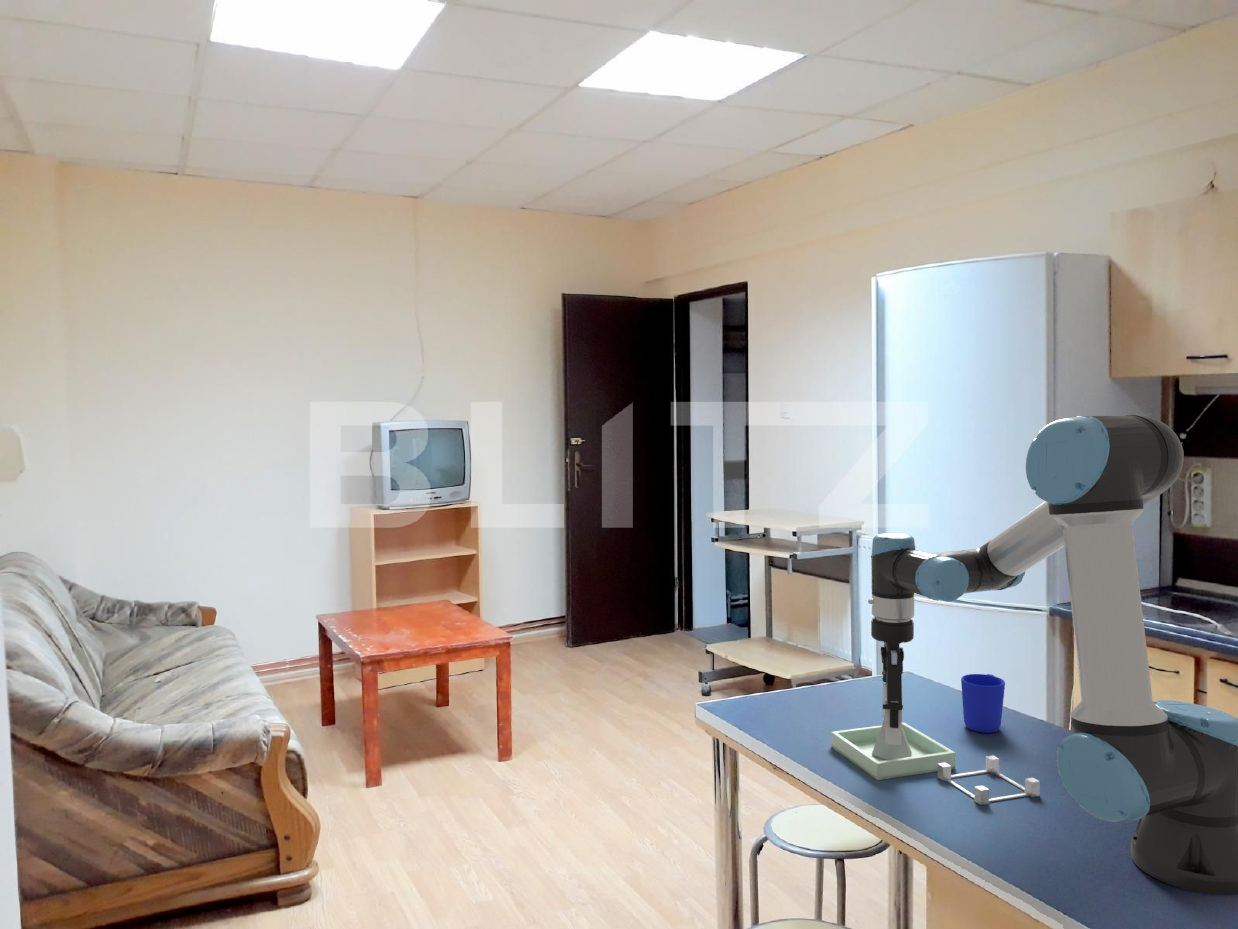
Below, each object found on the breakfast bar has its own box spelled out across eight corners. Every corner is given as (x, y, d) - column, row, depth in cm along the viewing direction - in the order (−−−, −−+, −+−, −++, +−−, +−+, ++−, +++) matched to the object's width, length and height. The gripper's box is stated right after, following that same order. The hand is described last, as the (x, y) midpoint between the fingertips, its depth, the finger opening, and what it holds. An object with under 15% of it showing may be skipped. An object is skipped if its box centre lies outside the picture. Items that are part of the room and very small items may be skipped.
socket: (1039, 795, 153) (1039, 781, 153) (980, 805, 150) (980, 790, 150) (992, 769, 164) (993, 755, 164) (937, 777, 161) (937, 763, 161)
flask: (918, 754, 171) (919, 701, 170) (902, 766, 165) (902, 712, 164) (881, 744, 175) (882, 693, 174) (864, 756, 170) (865, 703, 169)
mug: (1010, 720, 189) (1011, 672, 188) (1000, 739, 179) (1000, 689, 178) (969, 713, 193) (969, 666, 192) (956, 731, 183) (957, 682, 182)
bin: (955, 768, 165) (955, 752, 165) (877, 780, 160) (877, 763, 160) (903, 737, 180) (904, 722, 180) (831, 747, 176) (831, 732, 175)
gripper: (869, 601, 181) (868, 706, 183) (873, 634, 157) (872, 754, 159) (909, 603, 179) (908, 709, 181) (919, 636, 155) (918, 757, 157)
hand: (891, 730), depth 170 cm, fingers open, 13 cm apart
